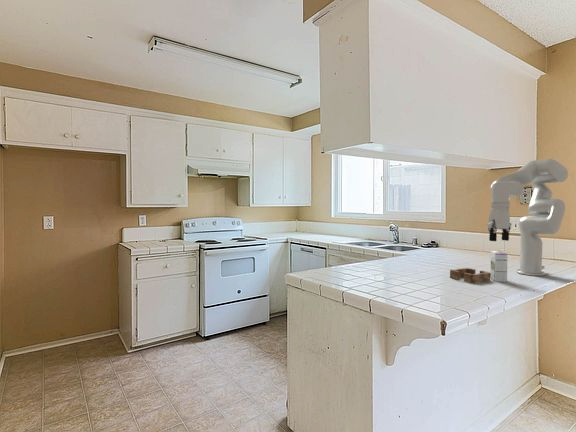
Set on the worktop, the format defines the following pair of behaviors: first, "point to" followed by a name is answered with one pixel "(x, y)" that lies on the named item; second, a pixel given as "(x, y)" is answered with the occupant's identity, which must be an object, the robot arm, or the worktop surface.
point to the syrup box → (499, 266)
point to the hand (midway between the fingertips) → (499, 240)
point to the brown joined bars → (470, 275)
